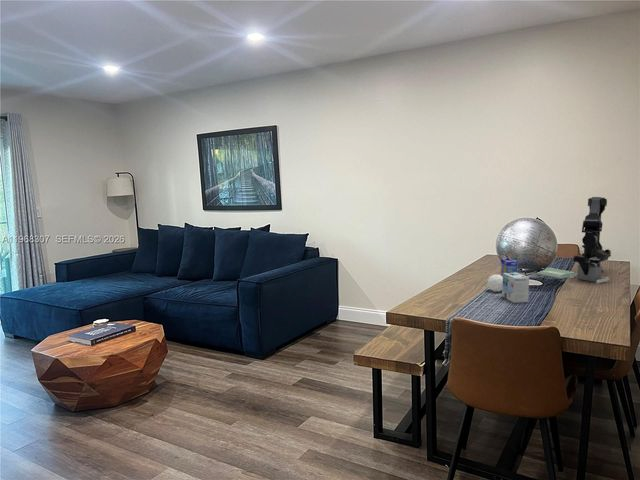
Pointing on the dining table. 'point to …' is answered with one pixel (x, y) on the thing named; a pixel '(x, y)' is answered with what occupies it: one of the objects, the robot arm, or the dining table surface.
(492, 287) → the white rounded piece
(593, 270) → the grey box with tab
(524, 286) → the light bulb box
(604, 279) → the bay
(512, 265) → the ink cartridge box
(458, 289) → the dining table surface
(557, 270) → the tray
